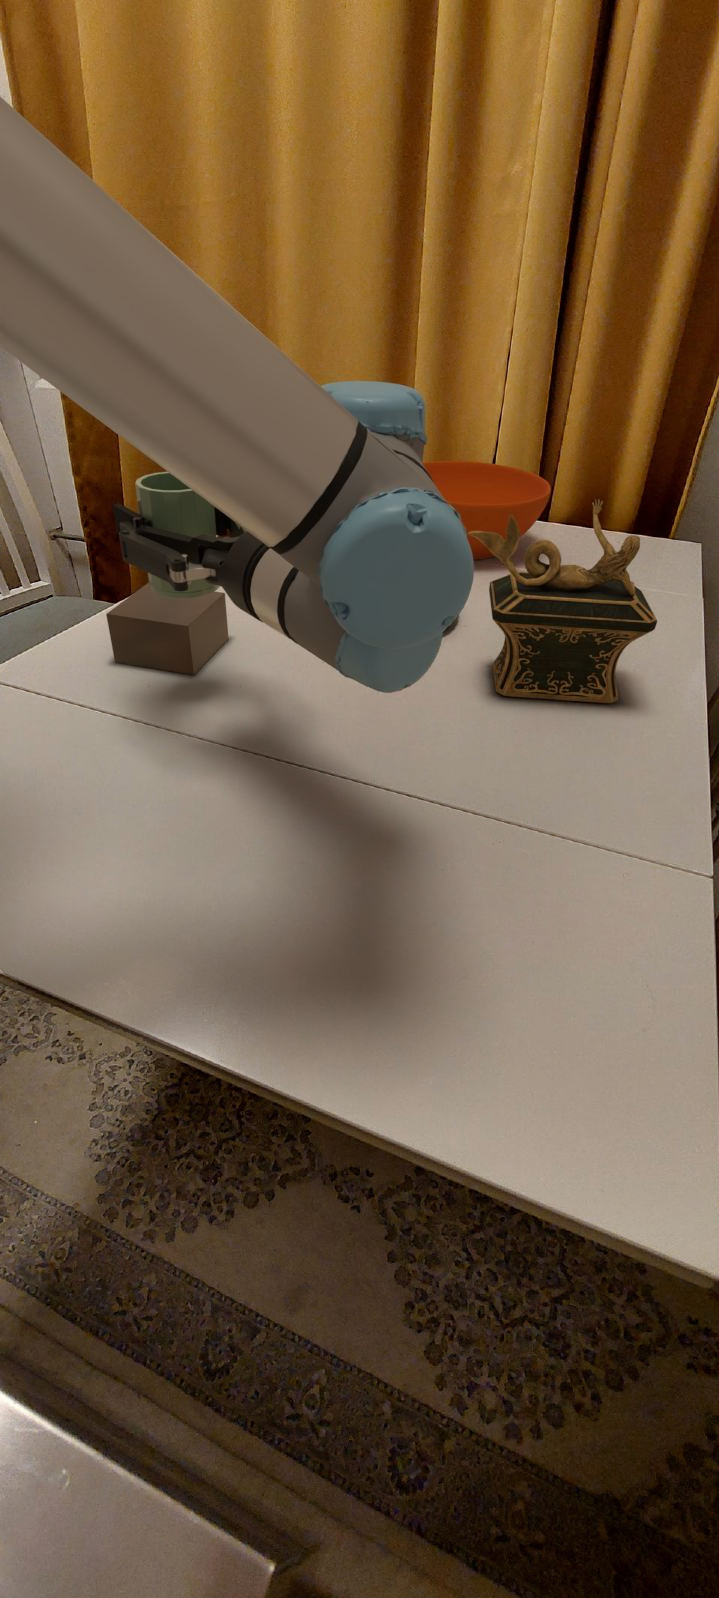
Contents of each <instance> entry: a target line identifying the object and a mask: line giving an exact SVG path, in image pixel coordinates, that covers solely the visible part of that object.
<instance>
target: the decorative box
mask: <svg viewBox="0 0 719 1598" xmlns="http://www.w3.org/2000/svg"><path fill="white" fill-rule="evenodd" d="M602 506H603V500H601V501H600V498H598V499H594V502H592V526H593V531H594V534H595V537H596V538H597V540H598V543H599V544H600V546H601V548H602V549H603V555H602V556H601V557H600V559H599V560H598V561H597V562H596V563H595V565H594V566H592V568H590V569H587V568H586V567H583V566H581V565H578V564H562V555H561V552H560V550H559V548H558V546H557V545H556V544H555V543H554V542H552V541H550V540H548V539H539V540H535V541H533V542H532V543H531V544H530V545H529V546H528V547H527V549H526V551H525V554H524V558H523V559H524V560H523V563H524V567H525V570H526V571H525V570H523V571H521V570H517V568H516V567H515V565H514V562H513V561H512V559H511V557H512V556H513V555H515V553H516V552H517V550H518V547H519V544H520V539H521V537H520V535H519V529H518V526H517V523H516V520H515V518H514V516H513V515H512V514H510V516H509V523H508V525H507V528H506V540H505V541H504V539H503V537H502V536H501V535H499V534H497V533H492V532H483V531H471V532H469V533H468V534H469V535H470V536H472V537H475V538H477V539H478V540H479V541H480V542H482V543H483V544H484V545H485V546H486V547H487V548H488V549H489V551H490V552H491V553H492V554H493V555H494V557H495V558H497V559H498V560H500V562H501V563H502V564H503V565H504V566H505V568H506V570H507V571H508V572H509V574H506V575H504V576H502V577H499V578H496V579H494V580H491V581H490V582H489V586H488V587H489V588H488V592H489V600H490V601H489V602H490V609H491V619H492V620H493V622H494V623H495V624H496V625H497V627H498V628H499V629H500V630H501V631H502V633H503V635H504V642H503V645H502V648H501V651H500V652H499V653H498V655H497V656H496V659H495V660H494V661H493V663H492V668H493V678H494V688H495V692H496V693H498V694H500V695H502V696H504V697H514V698H515V697H516V698H528V699H542V700H543V699H544V700H555V701H569V702H584V703H585V702H586V703H599V704H613V703H614V702H617V701H618V699H619V695H618V686H617V675H616V673H617V665H618V661H619V659H620V657H621V655H622V654H623V652H624V650H625V649H626V648H627V647H628V646H629V645H630V644H631V643H632V642H634V641H636V640H638V639H639V638H642V637H643V636H646V635H647V634H649V633H651V632H653V631H655V630H656V628H657V624H658V619H657V617H656V616H655V613H654V612H653V609H652V608H651V606H650V604H649V602H648V600H647V598H646V596H645V595H644V593H643V591H642V590H641V589H640V588H639V587H637V586H636V585H635V583H634V581H632V580H631V576H630V574H629V572H628V570H627V568H628V566H629V565H630V564H631V563H632V561H634V559H635V558H636V556H637V554H638V553H639V550H640V548H641V537H640V536H639V535H636V534H635V535H634V534H631V535H629V536H627V537H626V538H625V539H624V541H623V542H622V544H621V547H620V549H619V550H618V551H616V549H615V548H614V546H613V545H612V544H611V543H610V541H609V540H608V539H607V538H606V536H605V535H604V533H603V530H602V525H601V523H600V520H599V514H600V512H601V511H602V508H603V507H602ZM541 555H545V556H546V557H547V558H548V563H545V562H542V561H541V560H540V557H541Z"/></svg>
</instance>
